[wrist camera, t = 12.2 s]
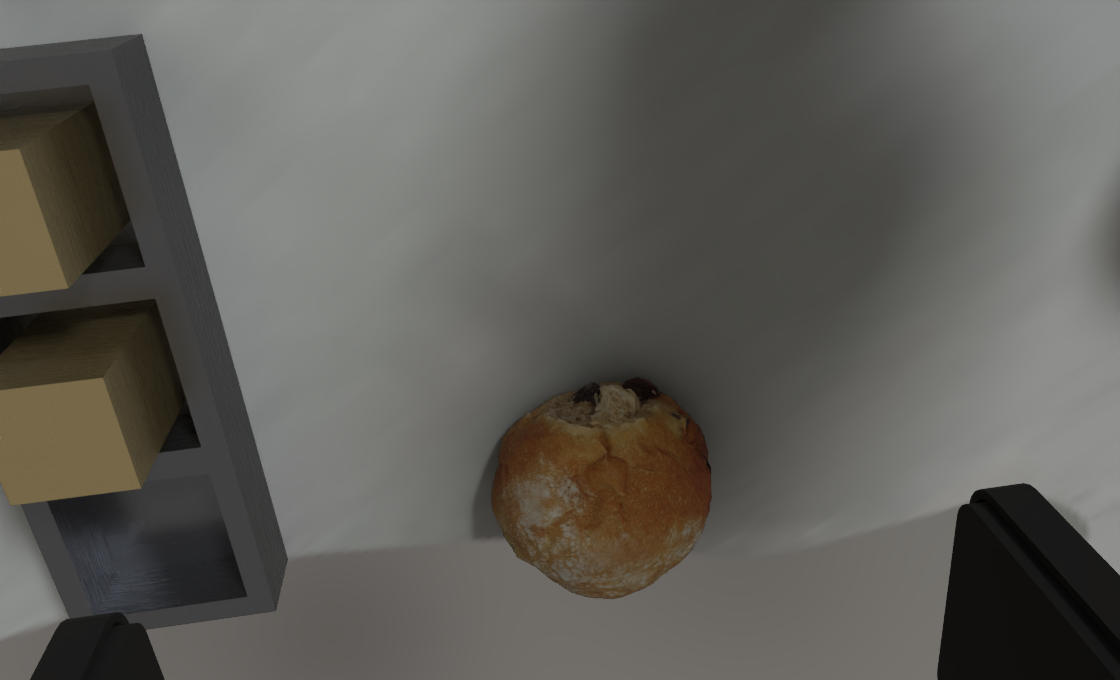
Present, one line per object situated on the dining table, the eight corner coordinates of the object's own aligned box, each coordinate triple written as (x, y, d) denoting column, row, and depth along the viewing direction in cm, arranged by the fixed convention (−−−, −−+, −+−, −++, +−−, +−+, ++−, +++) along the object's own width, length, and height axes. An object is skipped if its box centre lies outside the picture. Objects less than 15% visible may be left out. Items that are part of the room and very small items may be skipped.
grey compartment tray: (-103, 60, 33) (-161, 78, 30) (141, 34, 34) (110, 49, 30) (104, 585, 44) (78, 639, 41) (287, 559, 44) (275, 610, 41)
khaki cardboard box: (-31, 113, 34) (-139, 166, 27) (97, 99, 34) (19, 148, 28) (13, 231, 36) (-78, 306, 29) (133, 217, 36) (68, 288, 30)
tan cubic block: (44, 307, 37) (-37, 394, 31) (159, 294, 37) (102, 377, 31) (79, 405, 39) (10, 505, 33) (189, 391, 39) (140, 488, 33)
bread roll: (469, 429, 47) (432, 573, 41) (585, 321, 40) (559, 477, 34) (628, 509, 50) (613, 652, 44) (761, 422, 43) (762, 578, 38)
